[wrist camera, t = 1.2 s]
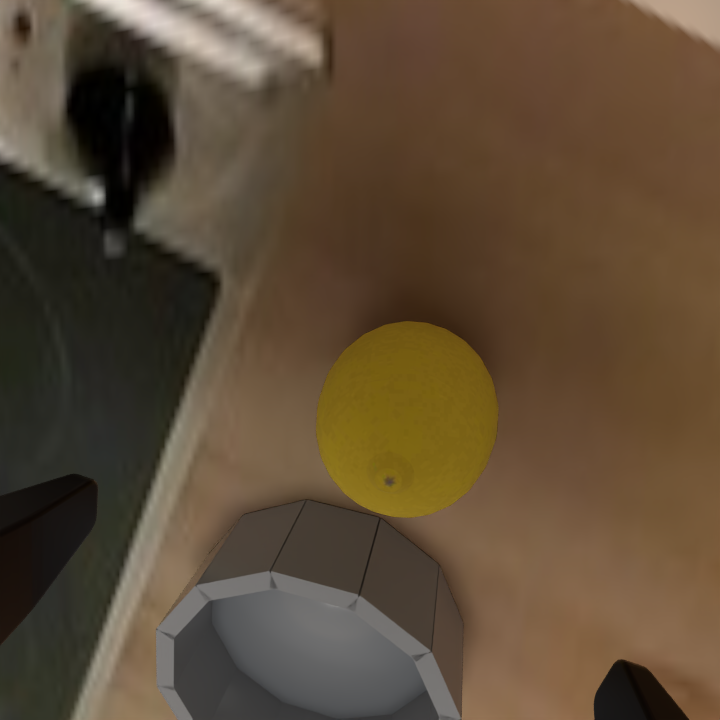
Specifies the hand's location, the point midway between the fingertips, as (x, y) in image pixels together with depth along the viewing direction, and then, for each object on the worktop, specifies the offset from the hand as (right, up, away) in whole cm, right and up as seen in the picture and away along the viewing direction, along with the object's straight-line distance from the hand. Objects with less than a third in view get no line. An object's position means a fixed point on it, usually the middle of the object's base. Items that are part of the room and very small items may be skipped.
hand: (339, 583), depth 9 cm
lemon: (+3, +3, +12) cm, 12 cm away
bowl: (-1, -9, +17) cm, 19 cm away
